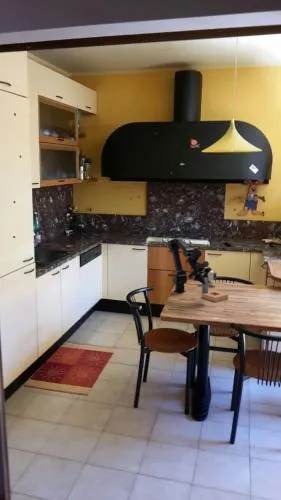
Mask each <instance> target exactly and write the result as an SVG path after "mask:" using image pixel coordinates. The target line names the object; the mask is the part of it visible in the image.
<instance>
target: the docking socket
mask: <svg viewBox="0 0 281 500" xmlns="http://www.w3.org/2000/svg"><path fill="white" fill-rule="evenodd" d="M200 296H201V297H200V298H202V299H205V300H208V301H210V302H214V303H216V302H220V301H226V300H228V299H229V293H225V292H222V291H218V290H215V289H213V290H208V293H207V294H203V293H202V292H201V295H200Z"/></svg>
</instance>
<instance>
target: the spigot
mask: <svg viewBox="0 0 281 500" xmlns="http://www.w3.org/2000/svg"><path fill="white" fill-rule="evenodd" d="M203 280H204V282H205V285H204V284H202V283H201V293H203V294H207V293H208V291H209V286H208V278H206V277H204V278H203Z"/></svg>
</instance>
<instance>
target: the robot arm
mask: <svg viewBox="0 0 281 500" xmlns="http://www.w3.org/2000/svg"><path fill="white" fill-rule="evenodd" d="M167 247H168V249H169V251H170V252H171V253H172V254H171V255H172V258H173V262H174V267H175V273H174V278H173V279H172V282H173V283H172V284H175V285H174V290H173V292H175V293H179V294H180V293H185V292H186V290H185V284H187V282H188V279H189V280H191V279H193V280H196V281H197V282H199V283H201V285H202V284H204V285H205V282H204V280H203V278H204V277H206V278H208V273H209V272H210V271H213V270H212V268H211V267H210V266H209V265H210V262H208V260H205V261H203V262H202V263H201V262H199V259H200V258H201V257H202V256H203V255H202V254H203V253H202V251H201V250H200V249H198V248H196V247H195V248H194V247H192V246H189V245H188V244H187V243H186V242H185V241H184V240H183V237H174V238H173V239H170V240H168V241H167ZM180 250H182V255H183V256H184V257H185V258H186V259H185V264H188V265H189V266H190V270H191V272H190V273H189V274H187V270H184V269H183V265H182V261H181V260H182V259H181V256H180V255H181V254H180V252H179V251H180ZM201 274H202V276H201ZM208 283H209V278H208Z"/></svg>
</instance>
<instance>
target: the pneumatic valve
mask: <svg viewBox="0 0 281 500" xmlns="http://www.w3.org/2000/svg"><path fill="white" fill-rule="evenodd" d="M201 276H202V274H201ZM208 278H209V283H208V287H209V286H212V284H213V282H212V281H215V279H217V272H216V270H211V271H210V272H209V273H208Z"/></svg>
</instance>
